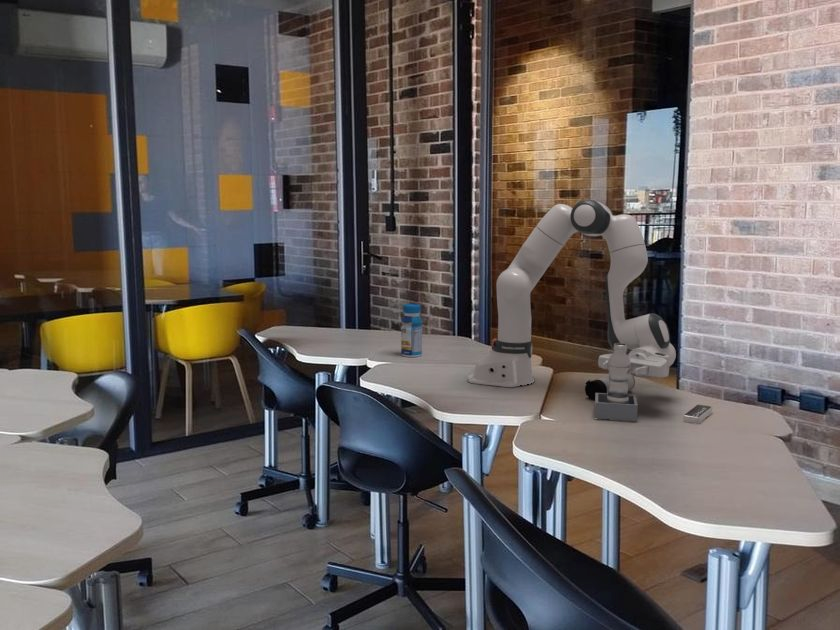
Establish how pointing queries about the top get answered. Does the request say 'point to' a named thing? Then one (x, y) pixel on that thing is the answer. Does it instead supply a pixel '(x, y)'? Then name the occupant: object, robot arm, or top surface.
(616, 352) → the plastic bottle
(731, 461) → the top surface
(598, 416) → the gray open square bin
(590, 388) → the travel mug
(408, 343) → the beverage bottle
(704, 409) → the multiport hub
